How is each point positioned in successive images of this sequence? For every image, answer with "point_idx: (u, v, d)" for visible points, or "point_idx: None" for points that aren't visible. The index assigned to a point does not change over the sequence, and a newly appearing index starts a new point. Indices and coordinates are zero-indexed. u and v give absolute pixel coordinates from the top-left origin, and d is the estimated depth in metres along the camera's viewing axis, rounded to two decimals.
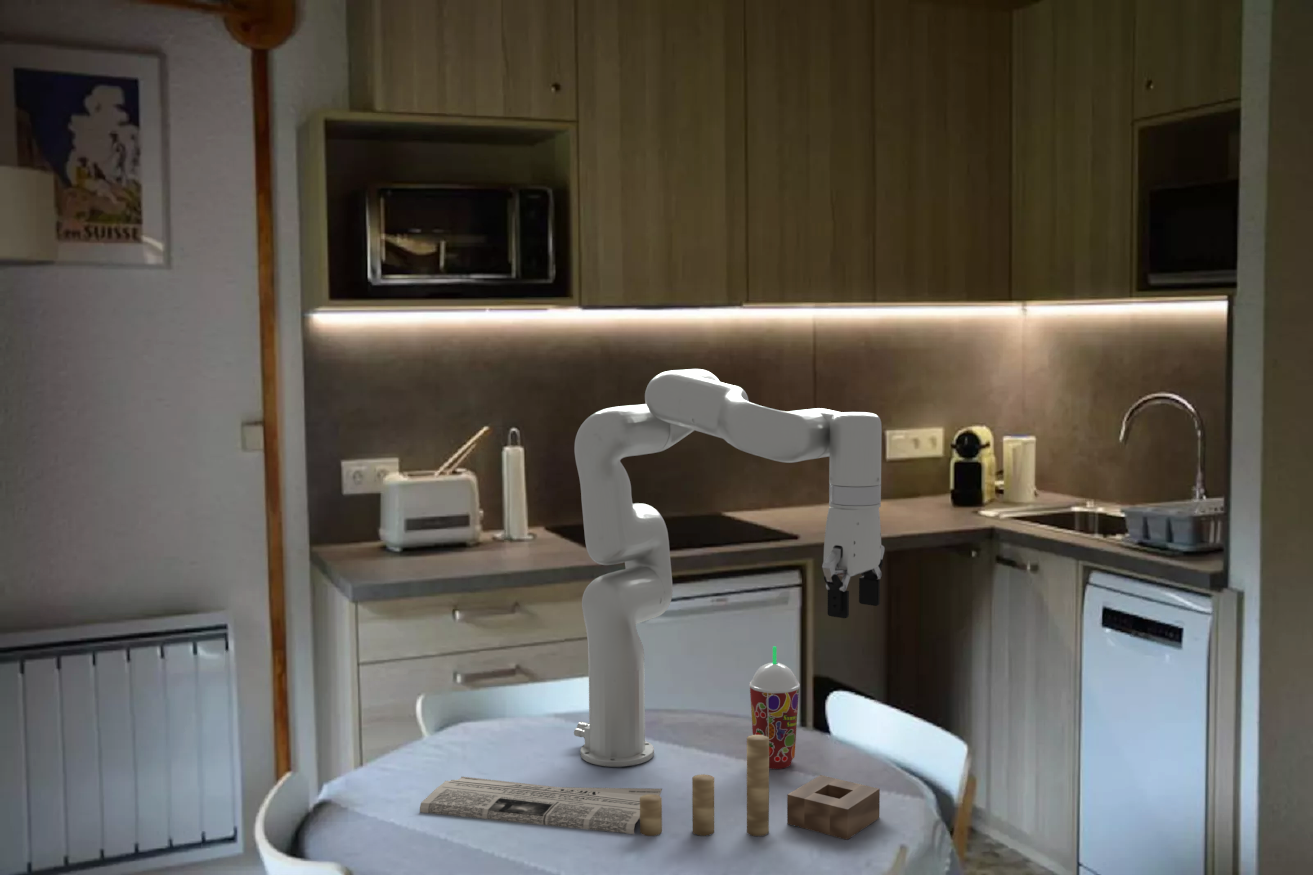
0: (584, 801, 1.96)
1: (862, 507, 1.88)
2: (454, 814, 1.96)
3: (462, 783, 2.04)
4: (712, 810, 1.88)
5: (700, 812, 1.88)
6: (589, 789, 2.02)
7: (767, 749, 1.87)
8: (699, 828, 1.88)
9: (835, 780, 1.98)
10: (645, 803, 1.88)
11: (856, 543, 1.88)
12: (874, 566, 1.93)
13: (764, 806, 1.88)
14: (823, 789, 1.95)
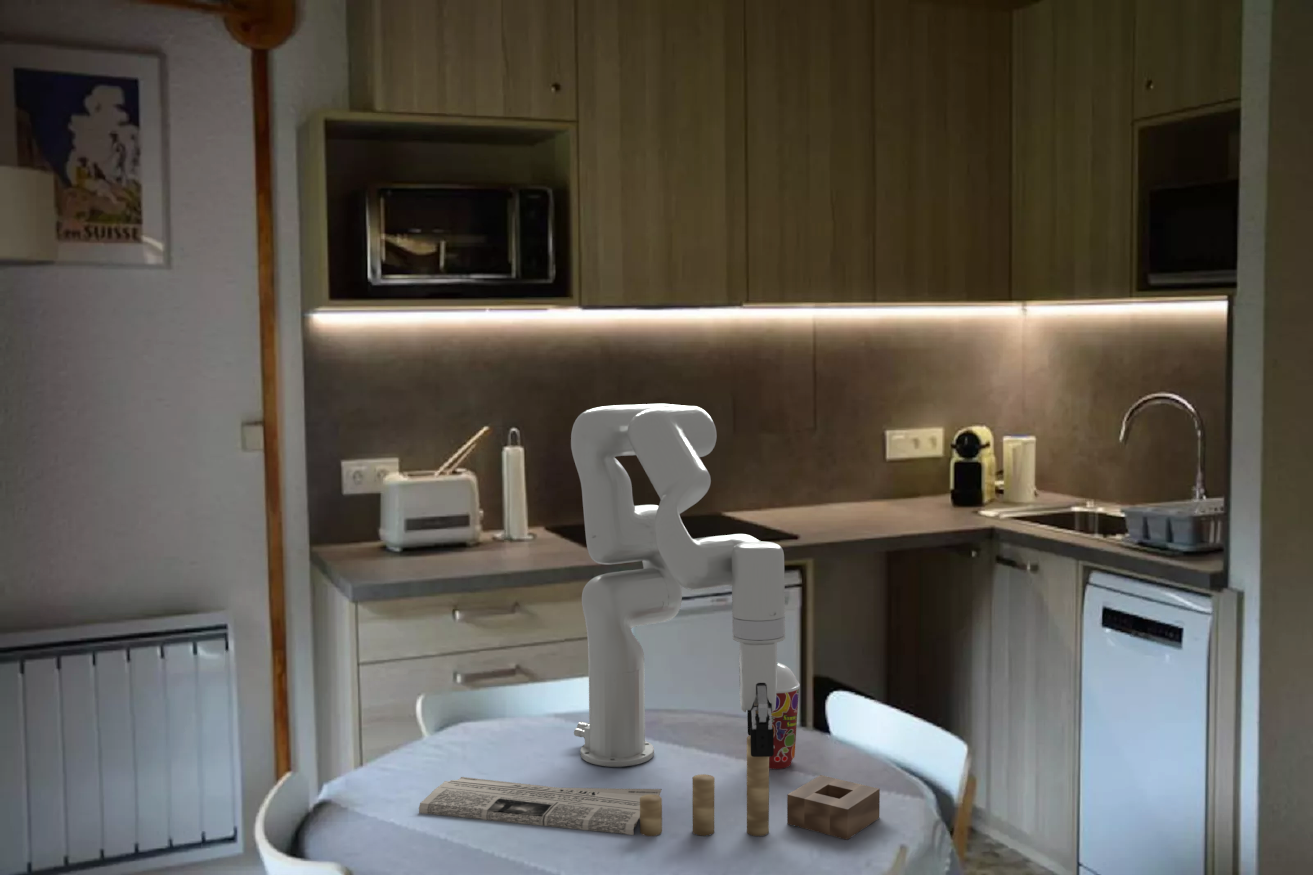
0: (583, 801, 1.96)
1: (778, 640, 1.84)
2: (453, 814, 1.96)
3: (461, 783, 2.04)
4: (712, 810, 1.88)
5: (700, 812, 1.88)
6: (588, 789, 2.02)
7: None
8: (699, 828, 1.88)
9: (835, 780, 1.98)
10: (644, 803, 1.88)
11: (776, 677, 1.83)
12: None
13: (764, 806, 1.88)
14: (823, 789, 1.95)
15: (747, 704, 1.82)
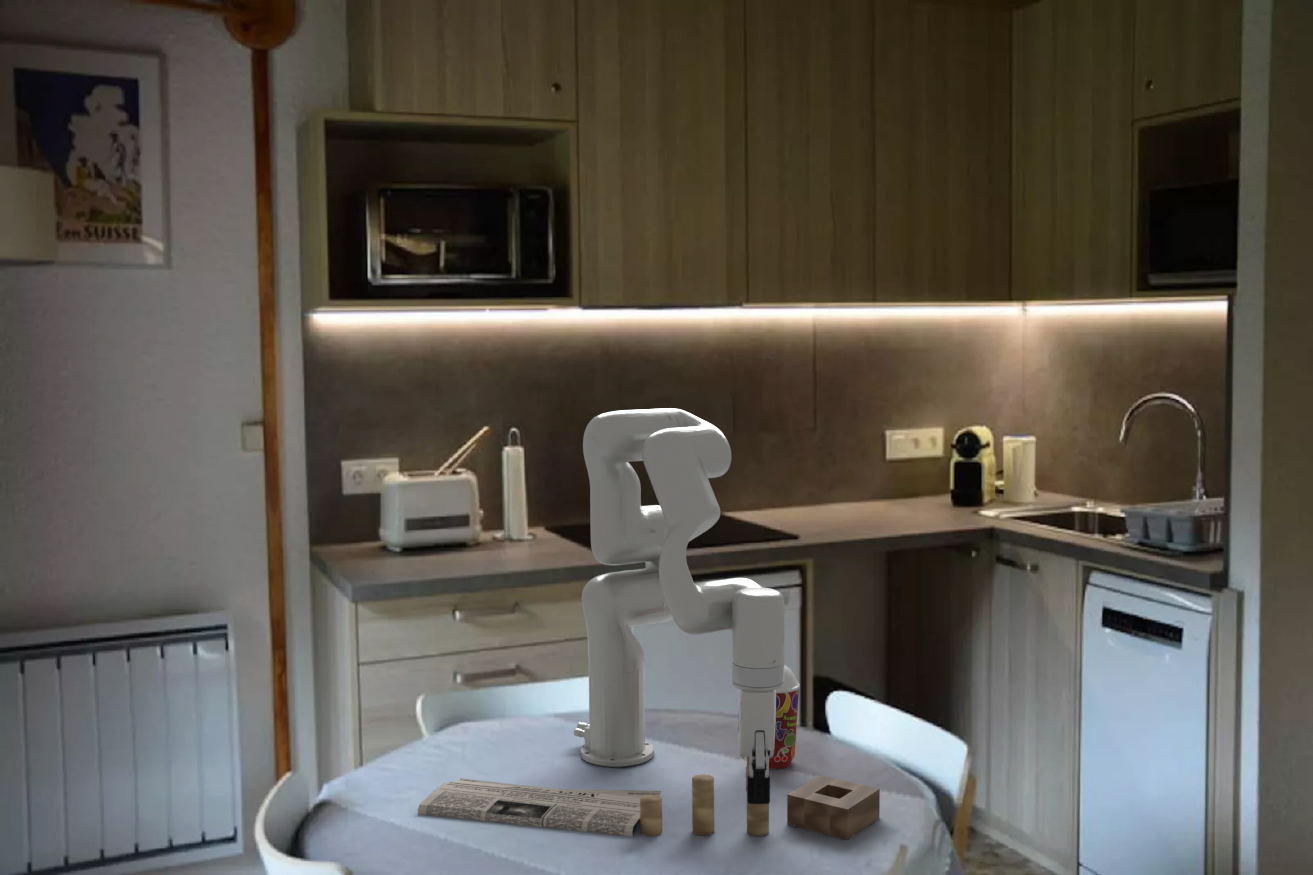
0: (583, 803, 1.95)
1: (777, 687, 1.85)
2: (452, 816, 1.96)
3: (460, 785, 2.04)
4: (712, 810, 1.88)
5: (700, 812, 1.88)
6: (588, 791, 2.01)
7: None
8: (699, 828, 1.88)
9: (835, 780, 1.98)
10: (644, 803, 1.88)
11: (774, 724, 1.84)
12: None
13: (764, 806, 1.88)
14: (823, 789, 1.95)
15: (745, 751, 1.83)
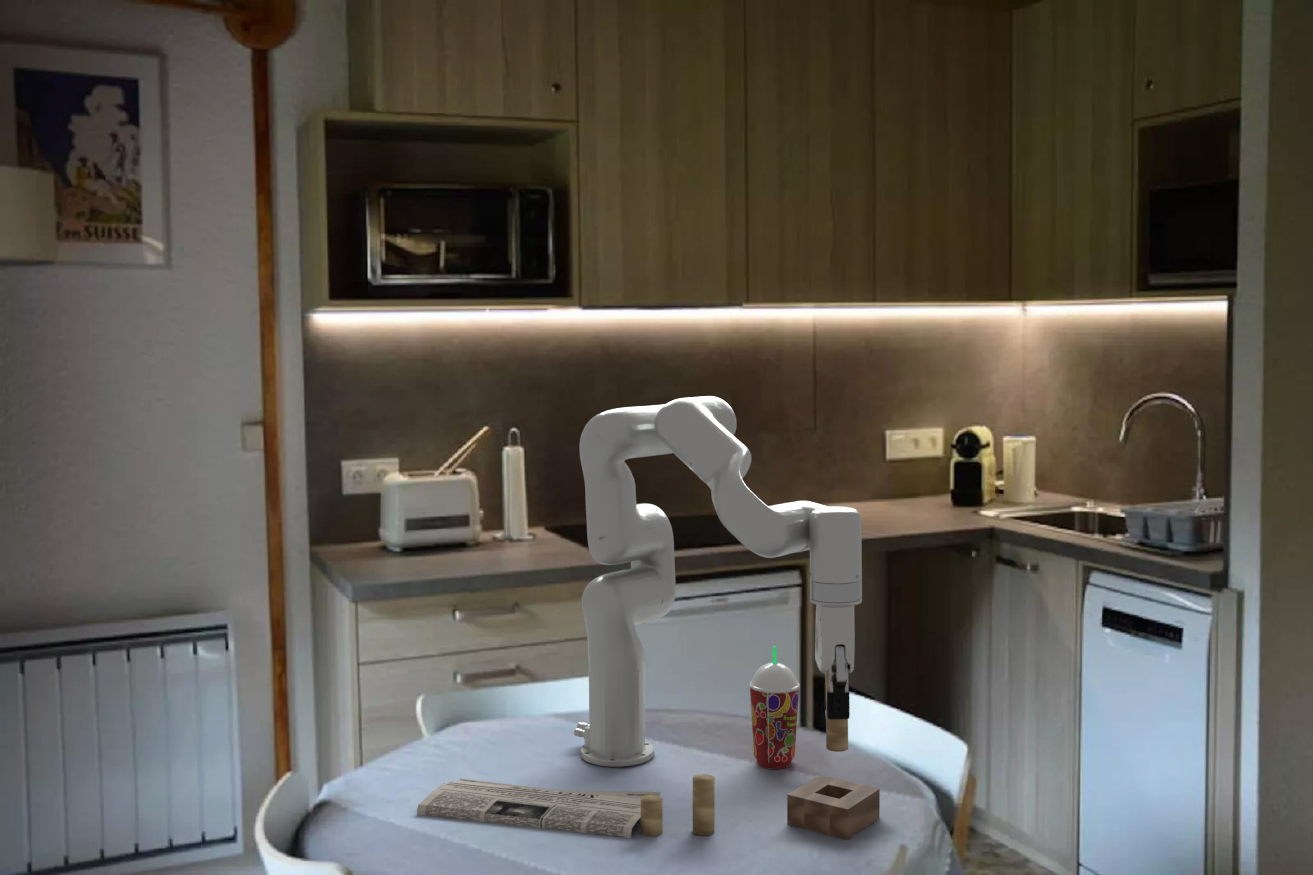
0: (582, 804, 1.95)
1: (856, 602, 1.87)
2: (451, 816, 1.95)
3: (460, 785, 2.03)
4: (712, 810, 1.89)
5: (701, 811, 1.88)
6: (587, 792, 2.01)
7: None
8: (700, 828, 1.88)
9: (835, 780, 1.98)
10: (645, 804, 1.88)
11: (854, 639, 1.87)
12: None
13: (844, 722, 1.90)
14: (823, 789, 1.95)
15: (826, 665, 1.86)
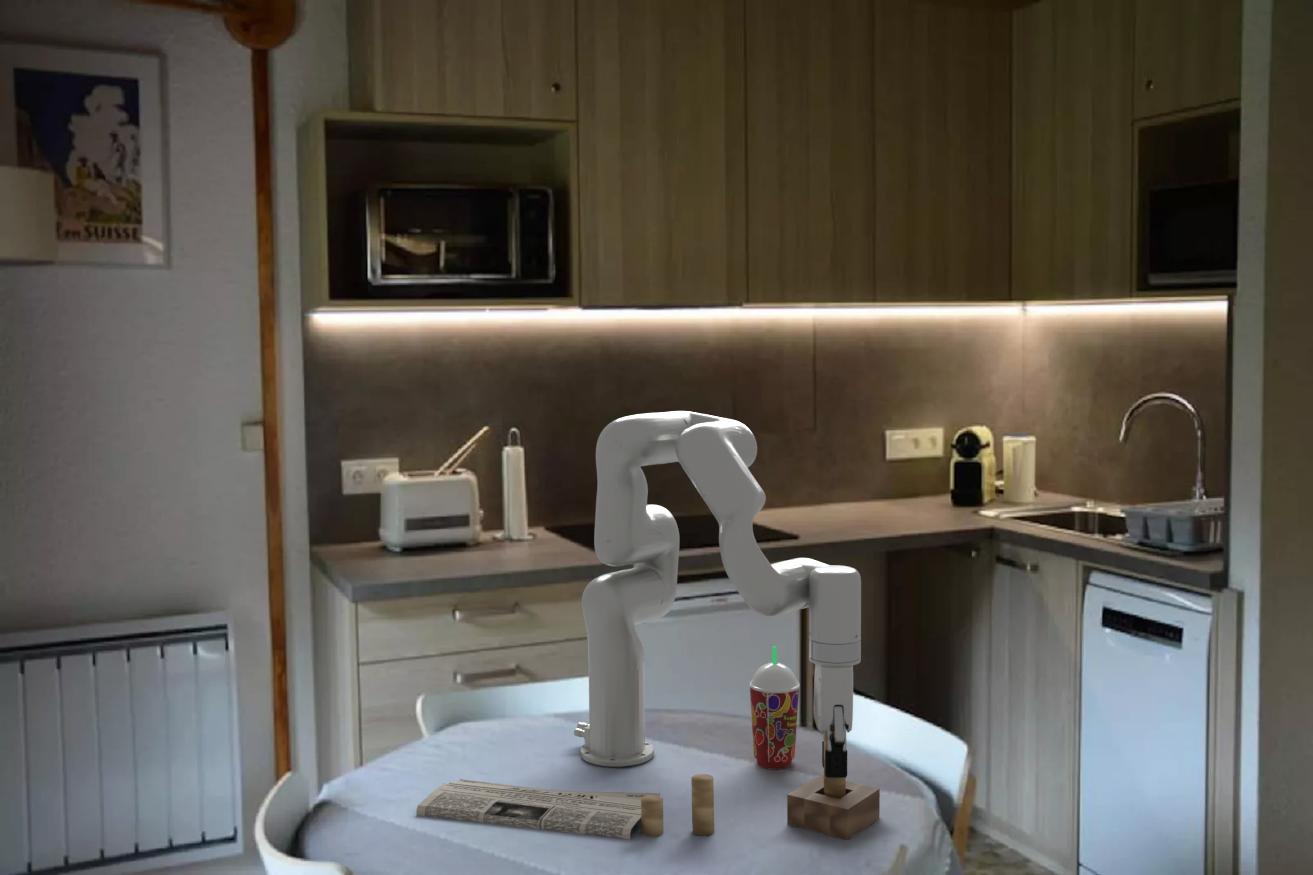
0: (581, 805, 1.94)
1: (855, 662, 1.88)
2: (450, 817, 1.95)
3: (460, 786, 2.03)
4: (712, 809, 1.89)
5: (700, 812, 1.88)
6: (587, 793, 2.00)
7: None
8: (700, 828, 1.88)
9: None
10: (645, 804, 1.88)
11: None
12: None
13: (842, 780, 1.91)
14: (823, 789, 1.95)
15: (824, 725, 1.87)
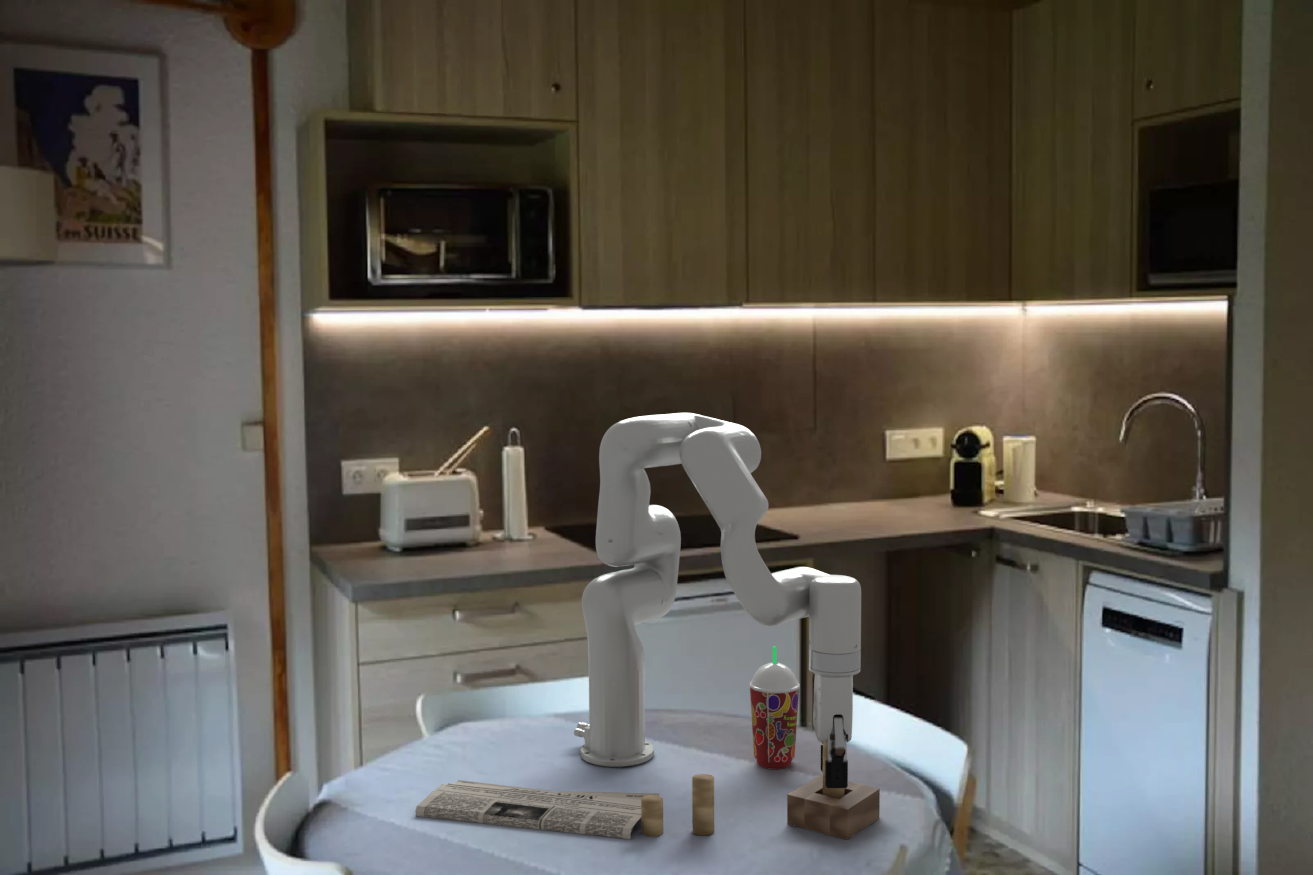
0: (581, 805, 1.94)
1: (854, 672, 1.88)
2: (450, 818, 1.95)
3: (459, 787, 2.03)
4: (712, 809, 1.89)
5: (701, 811, 1.88)
6: (586, 793, 2.00)
7: None
8: (700, 828, 1.88)
9: None
10: (645, 804, 1.88)
11: (852, 709, 1.88)
12: None
13: (840, 796, 1.92)
14: None
15: (824, 735, 1.87)
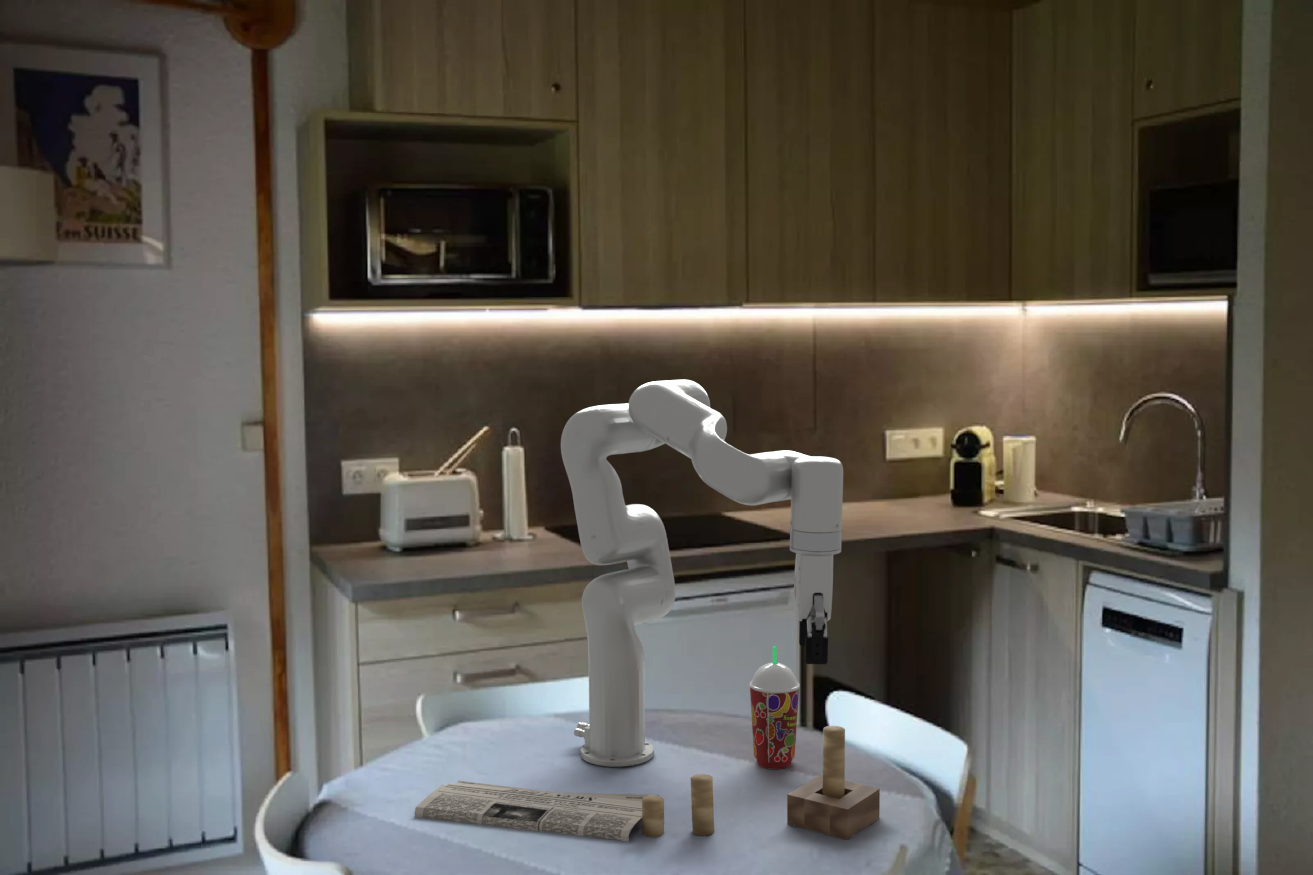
0: (580, 807, 1.94)
1: (835, 552, 1.89)
2: (449, 819, 1.94)
3: (458, 787, 2.02)
4: (712, 809, 1.89)
5: (701, 812, 1.88)
6: (586, 795, 2.00)
7: (843, 740, 1.91)
8: (700, 828, 1.88)
9: None
10: (647, 804, 1.88)
11: (832, 588, 1.88)
12: None
13: (840, 796, 1.92)
14: None
15: (803, 613, 1.87)
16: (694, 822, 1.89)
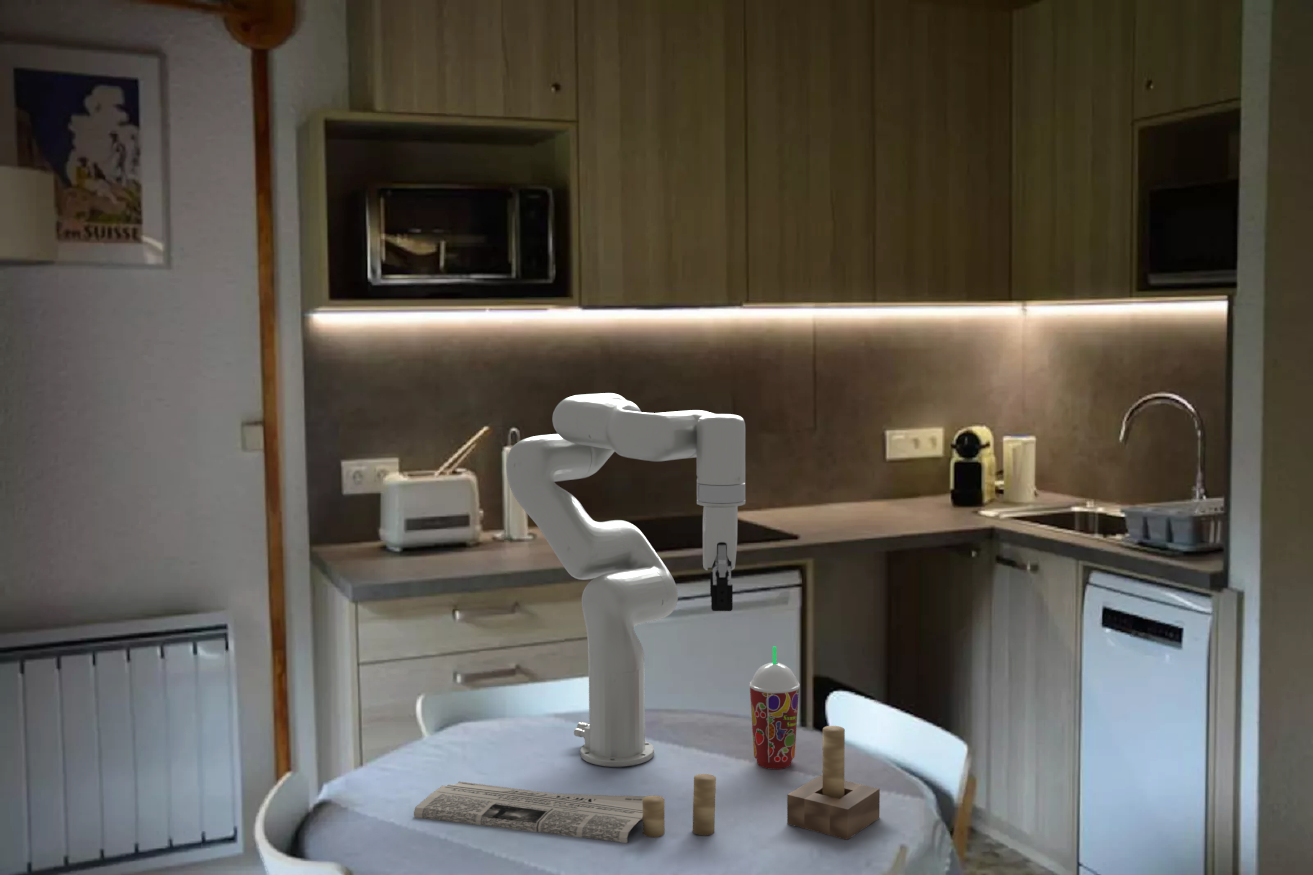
0: (579, 808, 1.93)
1: (738, 504, 1.98)
2: (448, 819, 1.94)
3: (458, 788, 2.02)
4: (713, 809, 1.89)
5: (703, 811, 1.88)
6: (585, 796, 1.99)
7: (843, 740, 1.91)
8: (701, 828, 1.88)
9: None
10: (647, 804, 1.88)
11: (736, 538, 1.98)
12: None
13: (840, 796, 1.92)
14: None
15: (708, 562, 1.97)
16: (695, 821, 1.89)
